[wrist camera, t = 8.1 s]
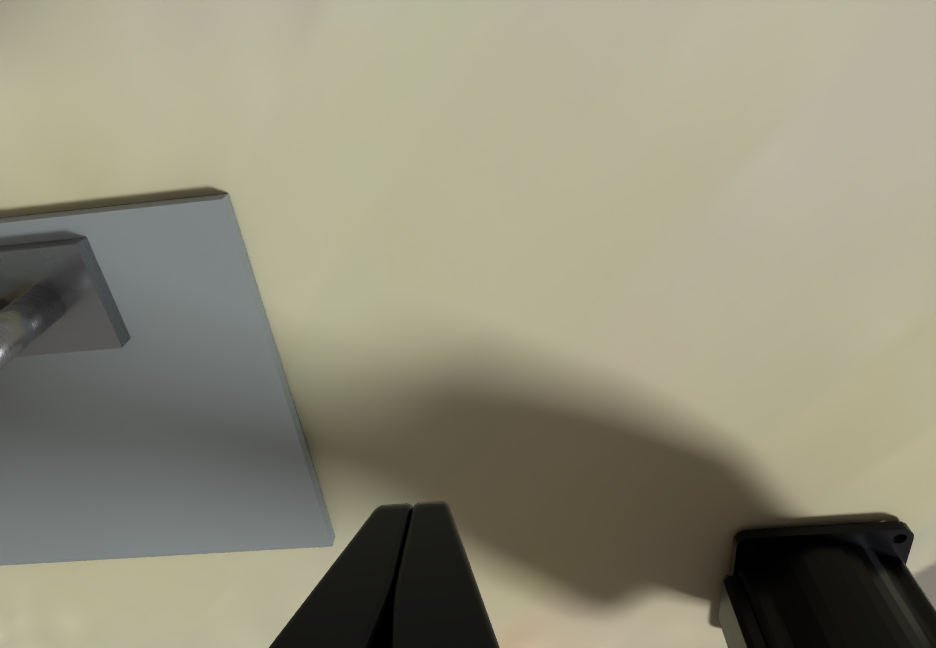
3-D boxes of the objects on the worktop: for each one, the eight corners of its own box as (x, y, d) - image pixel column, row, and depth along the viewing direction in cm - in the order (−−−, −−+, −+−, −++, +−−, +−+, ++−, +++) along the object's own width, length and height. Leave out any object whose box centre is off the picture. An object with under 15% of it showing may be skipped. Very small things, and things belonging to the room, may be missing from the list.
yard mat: (228, 193, 20) (222, 199, 19) (335, 536, 27) (332, 546, 26) (-211, 241, 21) (-226, 247, 20) (3, 556, 28) (-5, 565, 28)
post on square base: (86, 237, 20) (5, 294, 17) (130, 338, 22) (65, 408, 18) (-24, 248, 20) (-125, 306, 17) (29, 347, 22) (-54, 418, 19)
